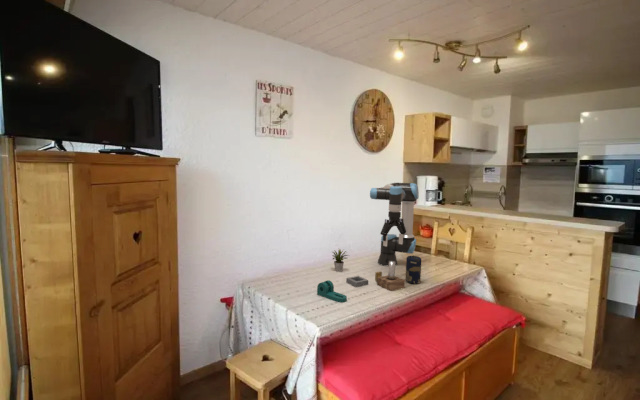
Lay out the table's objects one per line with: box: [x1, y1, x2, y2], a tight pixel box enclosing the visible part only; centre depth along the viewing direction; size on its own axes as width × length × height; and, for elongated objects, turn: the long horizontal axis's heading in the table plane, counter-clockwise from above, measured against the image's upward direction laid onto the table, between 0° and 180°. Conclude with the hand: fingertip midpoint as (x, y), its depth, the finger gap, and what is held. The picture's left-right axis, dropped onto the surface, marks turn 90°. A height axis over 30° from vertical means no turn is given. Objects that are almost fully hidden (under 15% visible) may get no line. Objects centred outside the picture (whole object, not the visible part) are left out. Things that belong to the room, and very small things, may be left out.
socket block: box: [376, 274, 406, 292], centre depth 208 cm, size 12×12×5 cm
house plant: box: [332, 248, 349, 272], centre depth 237 cm, size 14×14×16 cm
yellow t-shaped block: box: [374, 270, 383, 282], centre depth 214 cm, size 10×4×6 cm, turn 33°
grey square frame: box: [345, 275, 369, 288], centre depth 211 cm, size 10×10×3 cm
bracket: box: [316, 280, 348, 304], centre depth 187 cm, size 18×7×8 cm, turn 48°
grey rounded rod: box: [387, 261, 396, 280], centre depth 208 cm, size 4×4×16 cm
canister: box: [405, 255, 422, 285], centre depth 217 cm, size 10×10×18 cm
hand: (392, 245), depth 206 cm, fingers open, 13 cm apart
